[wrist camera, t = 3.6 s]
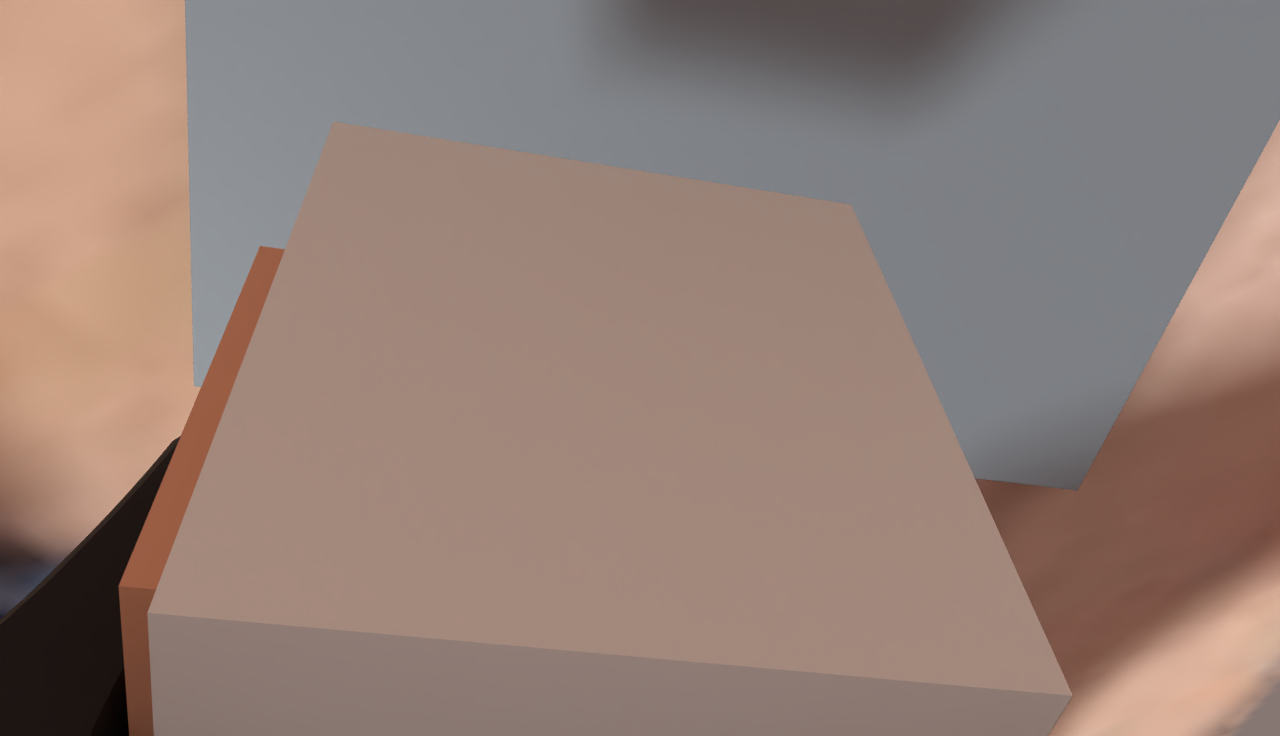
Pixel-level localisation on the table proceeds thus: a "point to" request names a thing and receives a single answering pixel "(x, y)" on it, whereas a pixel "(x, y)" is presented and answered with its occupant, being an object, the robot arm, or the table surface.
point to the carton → (571, 477)
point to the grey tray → (806, 154)
